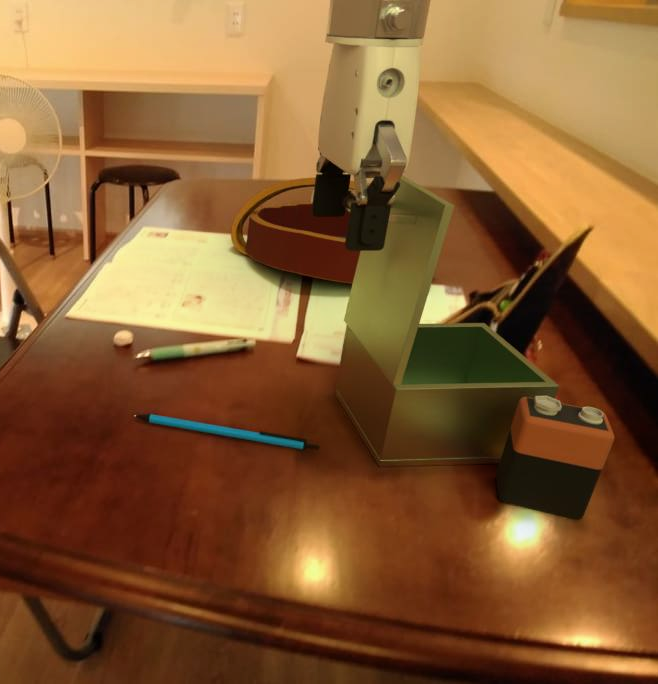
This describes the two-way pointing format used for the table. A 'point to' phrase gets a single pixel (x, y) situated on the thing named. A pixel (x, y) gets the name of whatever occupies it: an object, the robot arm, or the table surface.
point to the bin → (439, 396)
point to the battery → (553, 456)
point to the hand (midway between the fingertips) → (344, 231)
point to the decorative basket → (295, 236)
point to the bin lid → (397, 276)
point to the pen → (230, 432)
